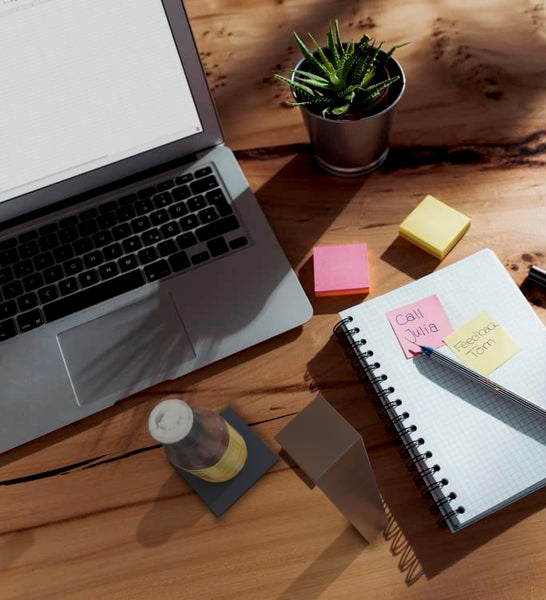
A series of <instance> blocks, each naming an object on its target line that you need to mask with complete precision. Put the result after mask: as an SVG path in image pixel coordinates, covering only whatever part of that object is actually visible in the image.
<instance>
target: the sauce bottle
mask: <svg viewBox="0 0 546 600" xmlns="http://www.w3.org/2000/svg"><path fill="white" fill-rule="evenodd" d="M151 410H152V411H151V412H150V415H149V416H148V417H149V418H148V422H147V427H148V432H149V434H150V436H151V438H152V439H153V440H155V441H156V442H157V443H159V444H160V445H161V446H162V448H163V452H164V454H165V456H166V458H167V460H169V462H170V461H171V462H172V463H173V464H174V465H176V466H177V467H179V468H181V469H184V470H186V471H188V472H190V473H192V474H194V475H196V476H198V477H200V478H202V479H204V480H206V481H210V482H223V481H227V480H230V479H232V478H234V477H236V476H237V475H238V474H239V473H240V471H241V470H242V468H243V467H244V465H245V462H246V460H247V457H248V453H247V447H246V444H245V441H244V439H243V438H242V436H241V435H239V433H238V432H237V431H236V430H235V429H234V428H233V427H232V426H231V425H229V424H228V423H227V422H226V421H225V420H224V419H223V418H222V417H220V416H219V414H218V413H216V412H215V411H213V410H212V409H210V408H208V407H205V406H201V405H190V404H188V403H187V402H186V401H184V400H181V399H177V398H170V399H166V400H164V401H161V402H160V403H158V404H157V405H156V406H155V407H154V408H153V409H151ZM171 462H170V463H171ZM172 463H171V464H172ZM173 464H172V465H173ZM174 465H173V466H174Z"/></svg>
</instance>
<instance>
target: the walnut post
mask: <svg viewBox="0 0 546 600" xmlns="http://www.w3.org/2000/svg"><path fill="white" fill-rule="evenodd" d="M273 439H274V440H275V441H276V442H277V444H278V445H279V446H280V447H281V448H282V449H283V450H284V451H285V452H286V454H288V456H289V457H290V458H291V459H292V460H293V462H294V463H295V464H297V466H298V467H299V468H300V469H301V470H302V471H303V472H304V473H305V475H307V477H308V478H309V479H310V480H311V481H312V483H314V484H315V485H316V487H317V488H318V489H319V490H320V491H321V492H322V493H323V495H324V496H325V497H326V498H327V499H328V500H329V501H330V502H331V503H332V504H333V505H334V506H335V508H337V510H338V511H339V512H340V513H341V514H342V515H343V516H344V517H345V518H346V520H347V521H348V522H349V523H350V524H351V525H352V526H353V527H354V528H355V530H356V531H357V532H358V533H360V535H361V536H362V537H363V538H364V539H365V540H366V541H367V542H368V543H369V544H372V543H373V541H374V540H375V539H376V538H377V537H378V536H379V535H380V534H381V533H382V532H383V531H384V530H385V529H386V528H387V527H388V526H389V525H390V522H389V518H388V516H387V512H386V509H385V506H384V502H383V500H382V497H381V494H380V490H379V487H378V484H377V482H376V478H375V475H374V471H373V469H372V468H373V467H372V465H371V462H370V459H369V456H368V453H367V450H366V446H365V444H364V441H363V437H362V435H361V434H360V433H359V432H358V431H357V430H356V429H355V428H354V427H353V426H352V425H351V424H350V423H349V422H348V421H347V420H346V419H345V417H343V416H342V415H341V414H340V413H339V412H338V411H337V410H336V409H335V408H334V407H333V406H332V405H331V404H330V403H329V402H328V401H327V400H326V399H325V398H324V397H323V395H321V394H320V393H319V394H317V395H316V397H314V398H313V399H312V400H311V401H310V402H309V403H307V405H306V406H305V407H304V408H302V409H301V411H299V412H298V413H297V414H296V415H295V416H294V417H293V418H292V419H291V420H290V421H289V422H288V423H287V424H285V426H284V427H282V428H281V429H280V430H279V431H278V432H277V433H276V434H275V435H274V436H273Z"/></svg>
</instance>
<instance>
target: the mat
mask: <svg viewBox="0 0 546 600" xmlns="http://www.w3.org/2000/svg"><path fill="white" fill-rule="evenodd" d="M218 415H219V416H220V417H222V418H223V419H224V420H225V421H226V422H227V423H228V424H229V425H231V426H232V427H233V428H234V429H235V430H236V431H237V432H238V433H239V435H241V436H242V438H243V439H244V441H245V444H246V447H247V453H248V457H247V460H246V462H245V465H244V467H243V468H242V470H241V471H240V473H239V474H238V475H237V476H236V477H234V478H232V479H230V480H227V481H223V482H210V481H206V480H204V479H202V478H200V477H198V476H196V475H194V474H192V473H190V472H188V471H186V470H184V469H181V468H179V467H177V466H176V465H174V464H173V463H172V462H171V461H170V460H169V462H170V463H171V464H172V465H173V466H174V468H175V469H176V470H177V471H178V472H179V474H180V475H181V476H182V477H183V478H184V480H185V481H186V482H187V483H188V484H189V485H190V486H191V488H192V489H193V490H194V491H195V492H196V493H197V495H198V496H199V497H200V498H201V499H202V501H203V502H204V503H205V504H206V505H207V506H208V507H209V509H210V510H211V511H212V512H213V513H214V514H215V516H216V517H217V518H220V517H222V516H223V515H224V514H225V513H226V512H227V511H228V510H229V509H230V508H231V507H232V506H234V505H235V503H236V502H238V500H239V499H240V498H242V497H243V496H244V495H245V494H246V493H247V492H248V491H249V490H250V489H251V488H252V487H254V485H255V484H256V483H257V482H258V481H259V480H261V479H262V478H263V477H264V476H265V475H266V474H267V473H268V472H269V471H270V470H271V469H272V468H273V467H274V466H275V465H277V463H278V462H279V461H280V459H279V457H278V456H277V454H275V453H274V452H273V451H272V450H271V449H270V447H268V445H267V444H266V443H265V442H264V441H263V440H262V439H261V438H260V437H259V436H258V434H256V432H255V431H254V430H253V429H252V428H251V427H250V426H249V425H248V423H247V422H246V421H245V420H244V419H243V418H242V417H241V416H240V415H239V414H238V413H237V412H236V411H235V410H234V409H233V407H232V406H231V405H228V406H227V407H226V408H225V409H223V410H222V412H220V413H219V414H218Z"/></svg>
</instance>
